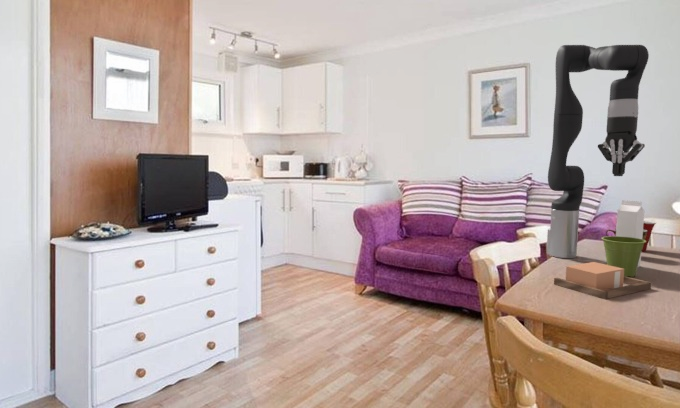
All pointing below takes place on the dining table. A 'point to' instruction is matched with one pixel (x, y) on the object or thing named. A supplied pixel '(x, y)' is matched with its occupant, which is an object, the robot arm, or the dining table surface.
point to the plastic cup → (649, 228)
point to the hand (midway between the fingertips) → (618, 176)
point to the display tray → (633, 286)
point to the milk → (630, 220)
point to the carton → (596, 275)
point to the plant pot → (623, 252)
